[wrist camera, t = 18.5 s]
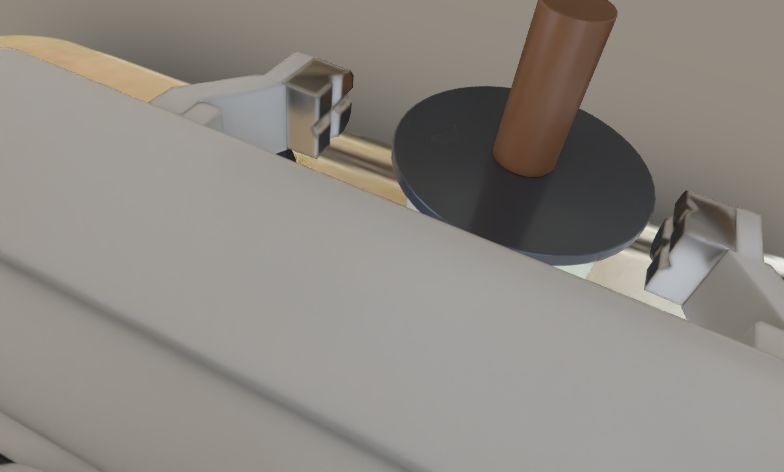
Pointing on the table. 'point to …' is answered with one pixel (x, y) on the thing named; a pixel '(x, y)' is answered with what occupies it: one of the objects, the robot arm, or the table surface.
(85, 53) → the table surface
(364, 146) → the table surface
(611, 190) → the lid
